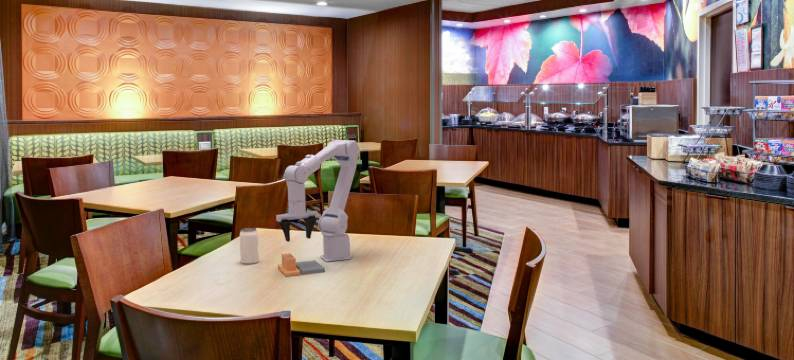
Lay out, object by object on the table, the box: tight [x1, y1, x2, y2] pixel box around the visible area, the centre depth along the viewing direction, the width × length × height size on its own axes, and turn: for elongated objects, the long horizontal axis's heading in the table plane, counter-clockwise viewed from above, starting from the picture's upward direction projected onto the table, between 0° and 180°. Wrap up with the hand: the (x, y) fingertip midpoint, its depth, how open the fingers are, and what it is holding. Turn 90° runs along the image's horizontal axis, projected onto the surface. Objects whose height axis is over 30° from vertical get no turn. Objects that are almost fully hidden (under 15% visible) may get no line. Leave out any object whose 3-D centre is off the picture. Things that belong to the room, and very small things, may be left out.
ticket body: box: [296, 259, 326, 275], centre depth 212 cm, size 8×12×1 cm, turn 23°
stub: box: [277, 252, 301, 277], centre depth 209 cm, size 5×12×5 cm, turn 23°
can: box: [239, 227, 260, 265], centre depth 221 cm, size 6×6×12 cm
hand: (298, 239), depth 211 cm, fingers open, 7 cm apart
